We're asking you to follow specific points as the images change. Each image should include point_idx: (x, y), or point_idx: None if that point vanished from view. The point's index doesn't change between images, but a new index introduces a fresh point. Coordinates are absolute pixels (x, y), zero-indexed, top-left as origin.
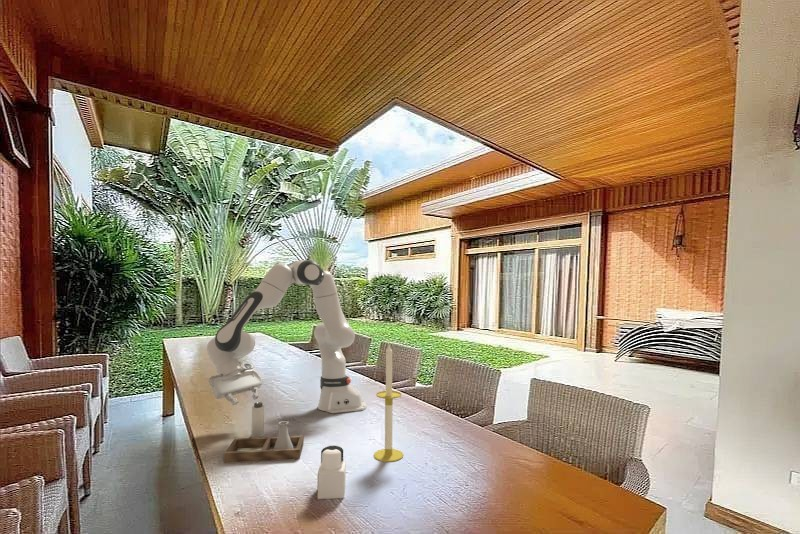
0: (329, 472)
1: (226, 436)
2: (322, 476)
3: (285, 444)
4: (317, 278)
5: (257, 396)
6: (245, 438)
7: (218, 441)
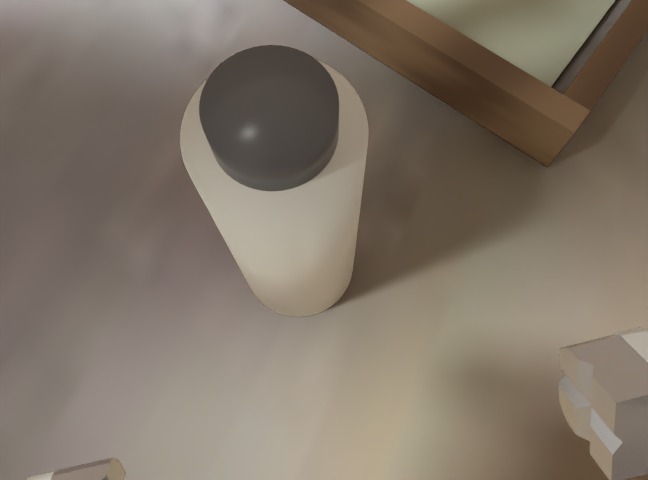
0: None
1: (527, 474)
2: None
3: None
4: None
5: (63, 471)
6: (495, 78)
7: None
